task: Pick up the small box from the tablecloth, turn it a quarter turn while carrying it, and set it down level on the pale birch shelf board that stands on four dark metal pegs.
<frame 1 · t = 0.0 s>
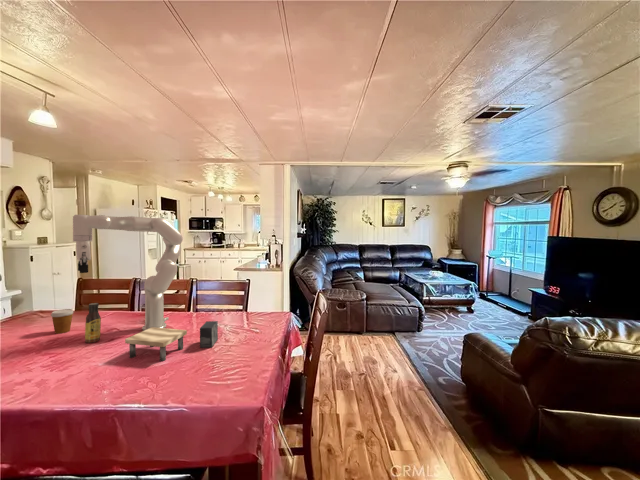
hand: (83, 271, 140), 37 cm above the table, tool pointing down, fingers open, 9 cm apart
sauce bottle: (93, 341, 144), on the table
disposable coffee cup: (62, 332, 156), on the table
peg shelf: (157, 352, 132), on the table
small box: (208, 344, 143), on the table
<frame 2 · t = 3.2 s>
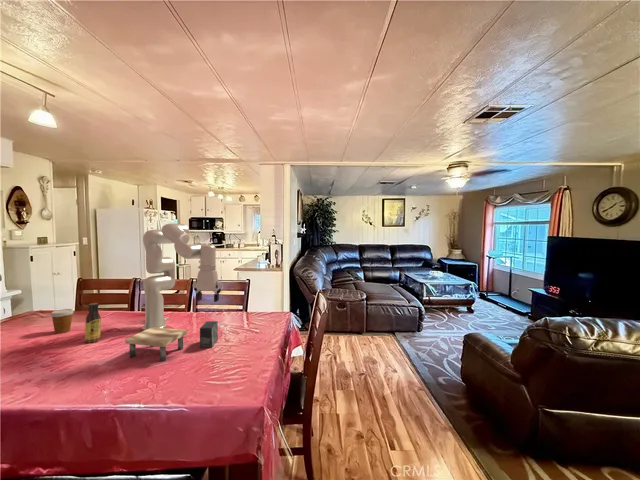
hand: (207, 300, 143), 23 cm above the table, tool pointing down, fingers open, 9 cm apart
nothing on the table moved.
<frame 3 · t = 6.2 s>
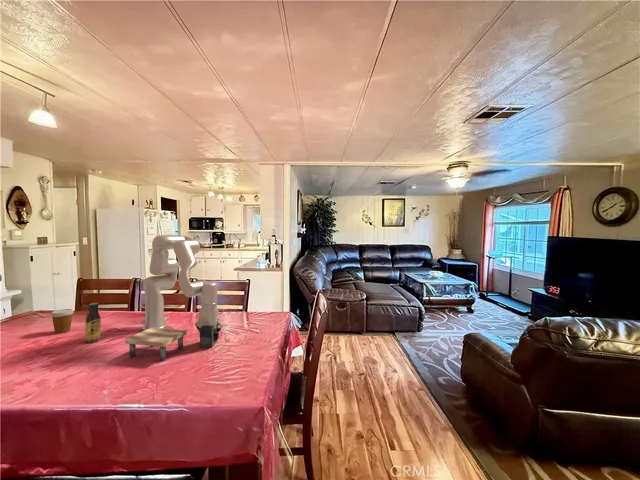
hand: (209, 339, 143), 2 cm above the table, tool pointing down, fingers closed on small box, 7 cm apart
small box: (209, 343, 143), on the table, touching gripper
everything else where it was.
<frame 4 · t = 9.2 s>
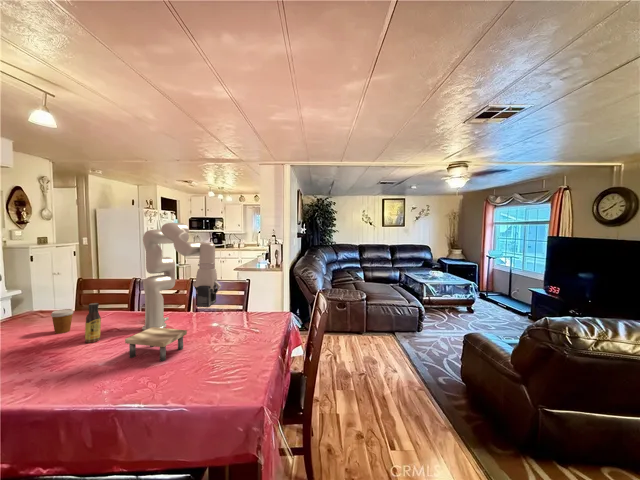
hand: (206, 299, 142), 23 cm above the table, tool pointing down, fingers closed on small box, 7 cm apart
small box: (206, 304, 142), point 21 cm above the table, touching gripper
everything else where it was.
when the fingers open (13 cm above the table, at t = 12.5 s): small box drops 1 cm, resting on peg shelf.
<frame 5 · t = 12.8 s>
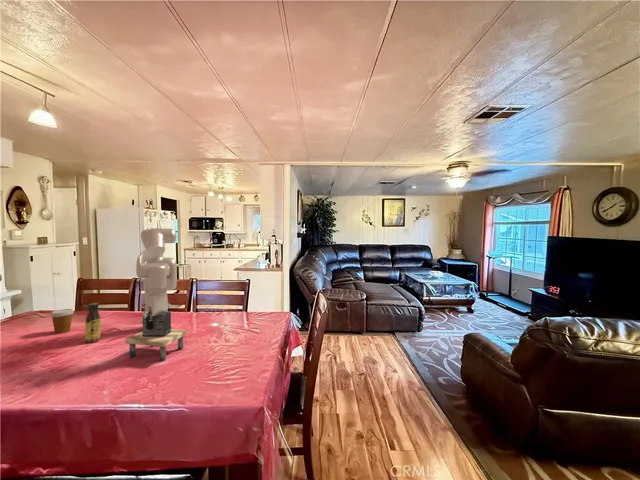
hand: (157, 325, 131), 13 cm above the table, tool pointing down, fingers open, 9 cm apart
small box: (157, 334, 131), point 9 cm above the table, touching peg shelf
everything else where it was.
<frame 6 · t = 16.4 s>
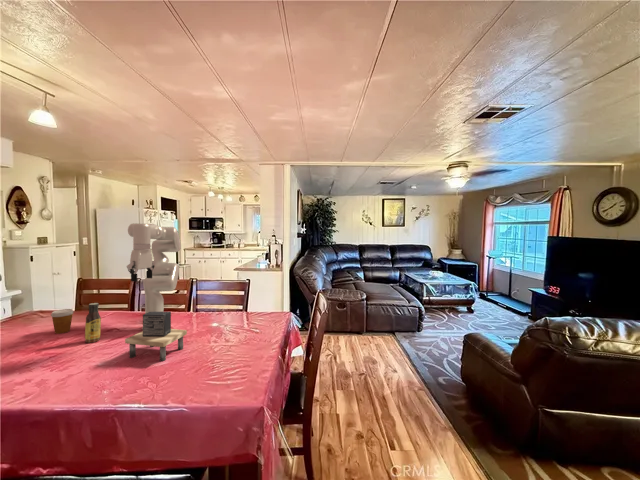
hand: (142, 279, 142), 33 cm above the table, tool pointing down, fingers open, 9 cm apart
nothing on the table moved.
at the end: small box inside the target area on the peg shelf (0.2 cm from its centre), point 8.8 cm above the peg shelf's base; small box tilted 0°; the gripper is holding nothing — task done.
